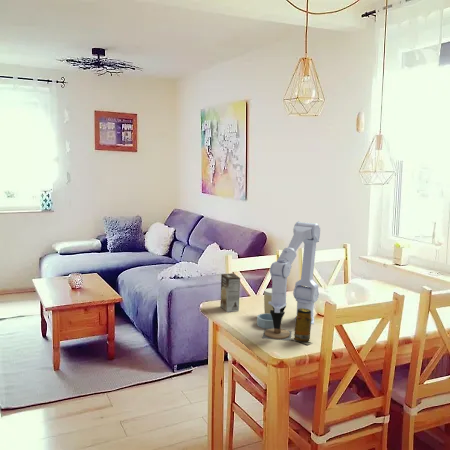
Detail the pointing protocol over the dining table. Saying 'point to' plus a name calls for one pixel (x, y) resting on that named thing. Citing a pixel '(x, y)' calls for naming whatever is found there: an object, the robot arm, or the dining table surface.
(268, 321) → the bowl
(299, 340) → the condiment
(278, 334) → the lid
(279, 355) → the dining table surface
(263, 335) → the mat
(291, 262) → the robot arm
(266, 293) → the coffee cup
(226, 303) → the coffee box
